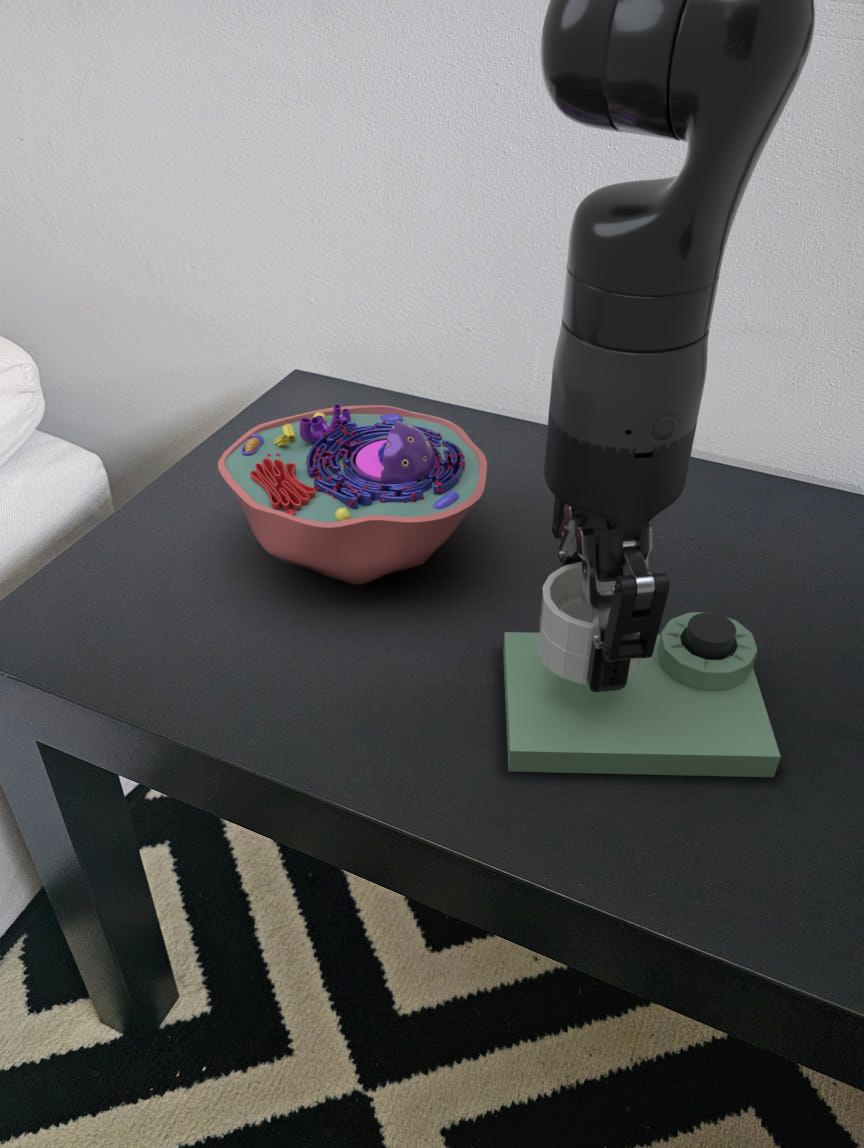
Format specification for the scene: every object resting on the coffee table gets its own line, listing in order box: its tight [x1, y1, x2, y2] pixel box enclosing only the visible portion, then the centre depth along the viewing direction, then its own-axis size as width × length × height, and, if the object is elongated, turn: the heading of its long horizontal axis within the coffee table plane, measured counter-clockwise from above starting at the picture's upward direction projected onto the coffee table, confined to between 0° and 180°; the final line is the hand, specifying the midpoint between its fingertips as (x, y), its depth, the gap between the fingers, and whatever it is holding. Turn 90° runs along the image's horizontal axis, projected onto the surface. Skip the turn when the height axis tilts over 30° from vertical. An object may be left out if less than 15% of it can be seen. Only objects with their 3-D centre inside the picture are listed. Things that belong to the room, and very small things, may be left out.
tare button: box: [684, 612, 736, 660], centre depth 67 cm, size 3×3×2 cm
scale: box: [502, 611, 782, 778], centre depth 67 cm, size 16×12×4 cm
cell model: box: [217, 403, 488, 586], centre depth 78 cm, size 17×20×11 cm
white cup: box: [537, 562, 642, 685], centre depth 63 cm, size 6×6×5 cm
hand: (590, 647), depth 64 cm, fingers closed on white cup, 6 cm apart
